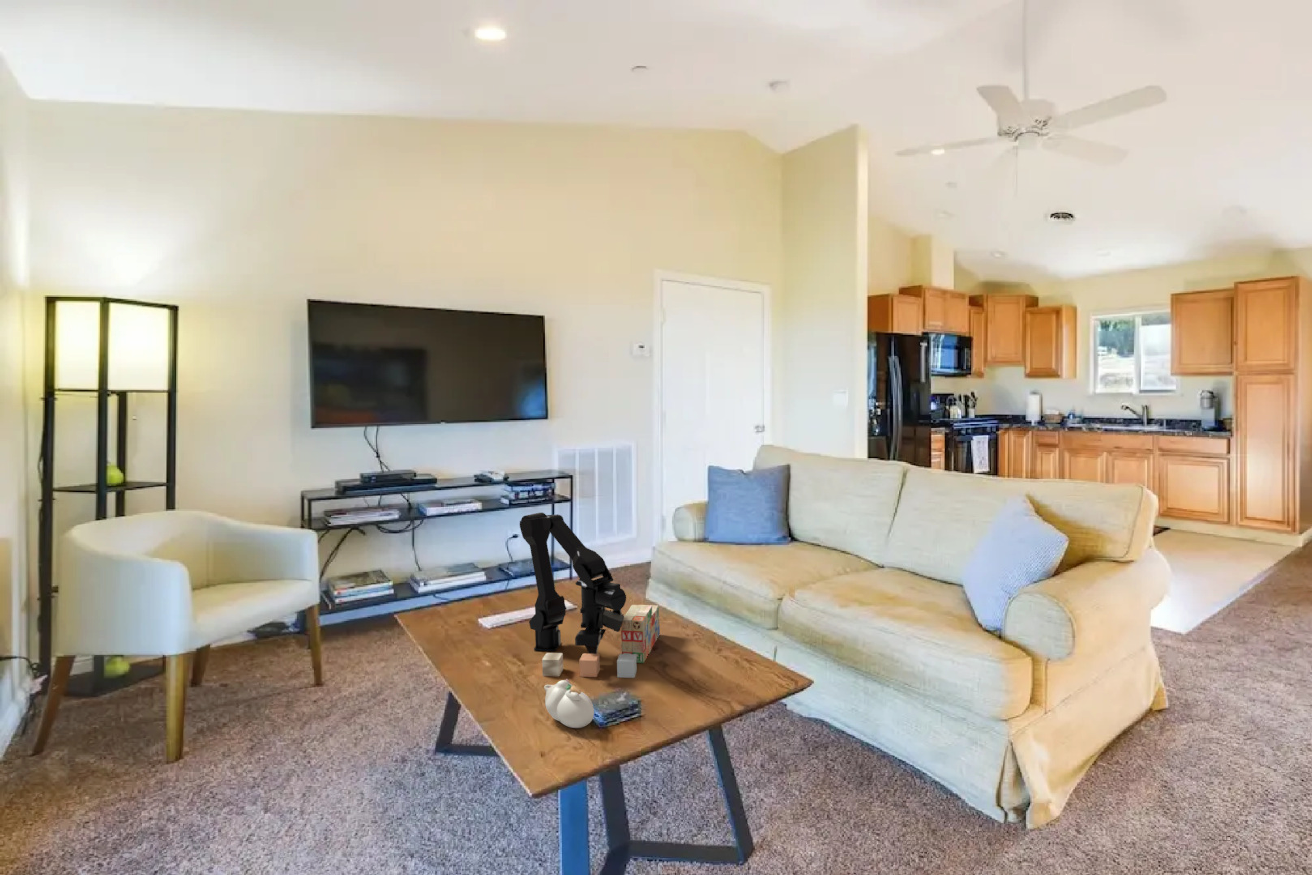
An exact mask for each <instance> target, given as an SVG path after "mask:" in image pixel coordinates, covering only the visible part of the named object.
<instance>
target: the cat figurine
mask: <svg viewBox="0 0 1312 875" xmlns="http://www.w3.org/2000/svg"><path fill="white" fill-rule="evenodd" d="M543 689H544V691H545V698H544V704H545V708H546V710H547V712H548V714H549V716H551V718H553V719H554V720H555V721H558V722H560V723H561V724H562V725H564V726H566V727H568V728H573V729H581V728H584V727H586V726H587V725H589V724H590V723H591V722H592V720H593V719H594V715H595V709H594V705H593V702H592V701H591V700H592V699H591V698H590V697H589V696H588V695H587V694H586V693H584V692H582V691H581V689H580V688H579V687H578V686H577V685H573V684H571V683H570V681H569V679H568V678H566V679H564V680H563V679H562V680H559V681H558V682H557V683H555V684H545V685H544V686H543Z"/></svg>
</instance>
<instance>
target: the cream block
mask: <svg viewBox="0 0 1312 875" xmlns="http://www.w3.org/2000/svg"><path fill="white" fill-rule="evenodd" d="M541 663H542V664H541V666H542V668H541V669H542V672H541V673H542V676H543V677H561V674H562V672H563V671H564V654H563V652H546V653H545V655H544V656H543V657H542V658H541Z"/></svg>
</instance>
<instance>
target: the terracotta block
mask: <svg viewBox="0 0 1312 875" xmlns="http://www.w3.org/2000/svg"><path fill="white" fill-rule="evenodd" d="M578 662H579V678H580V677H585V678H597V677H598V675H599V672H600V670H601V669H600V668H601V667H600V653H597V654H589V653H585V652H584V653H582V655H581V657H580V658H579V660H578Z"/></svg>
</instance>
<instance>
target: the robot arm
mask: <svg viewBox="0 0 1312 875" xmlns="http://www.w3.org/2000/svg"><path fill="white" fill-rule="evenodd" d="M519 528H520V532H521V535H522V538H523V540H524V541H525V542H526V543H527V545H529V547H530V548H529V549H530V553H531V554H530V555H531V561H532V565H533V571H534V577H535V583H536V588H537V589H536V590H537V593H538V594H537V598H536V601H535V604H534V611H535V614H534V615H533V616H532V618H530V620H529V621H528V624H529V628H530V629H531V630H533V631H534V635H535V636H534V637H535V640H534V641H535V647H533V651H535V650H536V652H537V651H539V652H542V651H543V652H544V651H545V652H549V651H550V652H555V651H557V650H558V648H559V647H560V645H561V644H562V641H561V640H562V639H561V629H559V626H560V625H563V624H564V623H563V622H564V619H565V616H566V615H567V614H566V613H567V606H566V603H565V597H564V596H563V595H561V596H560V594H559V593H558V592H557V591H556V587H555V581H554V575H553V570H552V564H551V559H550V553H549V547H548V540H549V537H550V534H551V535H552V536H553V538H554V539H555V540H556V541H557V543H558V544H559V545H560V546H561V548H562V549H563V550H564V551H565V553H566V554H567V555H568V557H569V558H570V559H571V562H572V563H571V564H572V568H573V570H574V572H575V574H576V575H577V576H578V578H579V579H578V580H577V581H576V582H575V585H576V586H579V587H580V590H581V593H580V594H581V598H580V599H581V608H580V610H579V612H580V614H581V620H582V621H581V623H580V628H581V629H580V630H579V631H578V632H577V634H576V636H575V638H574V642H575V646H578V647H579V646H585V648H586V650H587V652H588V654H598V649H599V645H600V643H601V640H602V639H603V638H604V634H605V632H606V631H607V629H605V628H608V629H610V630H613V632H618V633H619V632H621V626H622V623H623V620H624V615H625V614H623V613H622V609H623V608H624V606H625V604H626V602H627V594H626V592H625V590H624V589H622V588H621V584H620V583H616V582H615V583H614V578H613V577H612V573H611V572H610V570H609V568H608V566H607V564H606V561H605V559H604V558H603V557H602V556H600V554H599V553H597V552H596V551H594V550H592V549H590V548H588V547H587V546H585V545H584V543H582V541H581V540H580V538H579V537H578V536H577V535H576V534H575V533H574V531H573V530H572V529H571V528H570V526H569V525H568V524H567V523H566V522H565V520H564V517H563V515H560V514H546V513H545V512H537V513H531V514H526V515H523V516H522V518H521V519H520V520H519ZM606 608H607V609H606ZM608 609H610V610H608ZM604 627H605V628H604Z"/></svg>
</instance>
